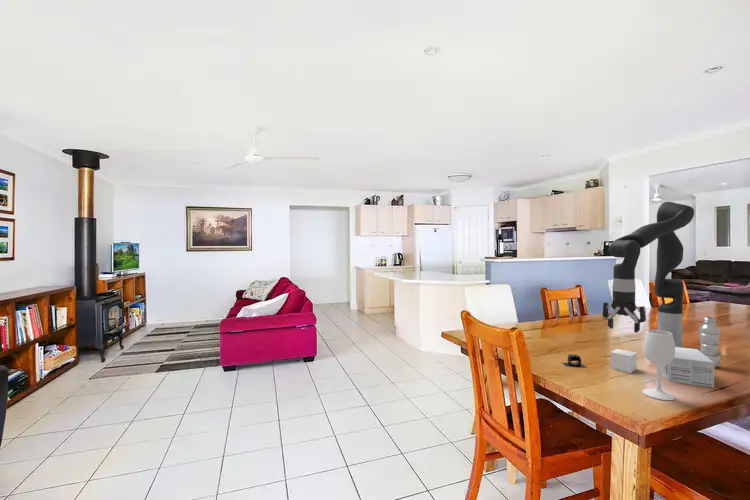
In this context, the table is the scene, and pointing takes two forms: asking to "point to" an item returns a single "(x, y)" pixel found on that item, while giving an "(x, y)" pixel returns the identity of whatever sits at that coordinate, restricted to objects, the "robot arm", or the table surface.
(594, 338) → the table surface
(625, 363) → the smooth white box
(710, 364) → the supplement box
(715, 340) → the plastic bottle
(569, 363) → the black screwed bracket block
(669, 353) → the wineglass
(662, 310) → the robot arm
